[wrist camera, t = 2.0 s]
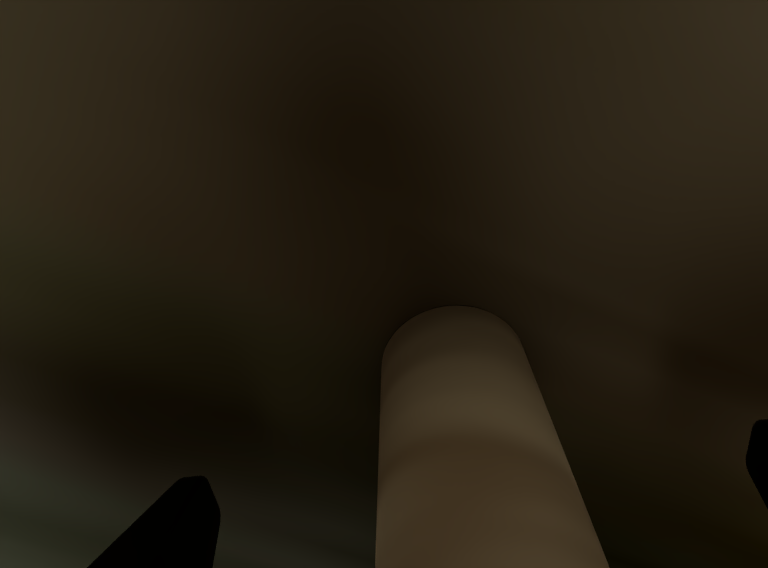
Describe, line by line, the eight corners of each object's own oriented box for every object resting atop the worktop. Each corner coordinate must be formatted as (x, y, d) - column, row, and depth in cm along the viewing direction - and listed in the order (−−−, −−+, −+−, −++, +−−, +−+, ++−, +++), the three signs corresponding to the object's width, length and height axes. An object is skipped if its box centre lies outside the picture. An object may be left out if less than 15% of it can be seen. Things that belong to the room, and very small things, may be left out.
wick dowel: (452, 444, 12) (527, 980, 5) (350, 371, 11) (288, 903, 4) (556, 363, 11) (812, 906, 4) (452, 276, 10) (571, 788, 3)
